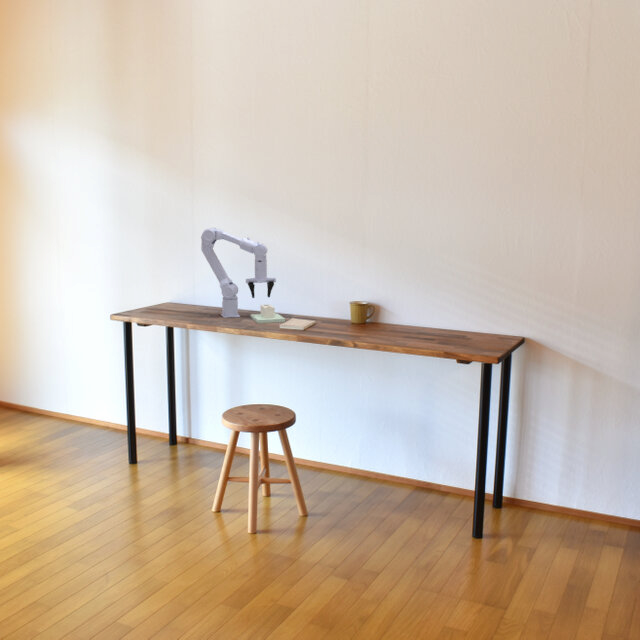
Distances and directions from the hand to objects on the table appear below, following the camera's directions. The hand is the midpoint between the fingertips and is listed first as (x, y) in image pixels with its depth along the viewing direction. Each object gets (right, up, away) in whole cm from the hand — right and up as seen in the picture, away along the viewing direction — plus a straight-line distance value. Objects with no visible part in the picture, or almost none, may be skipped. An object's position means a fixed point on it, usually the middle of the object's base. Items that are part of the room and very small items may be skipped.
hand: (261, 297), depth 380 cm
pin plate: (+4, -11, -6) cm, 13 cm away
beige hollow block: (+4, -9, -7) cm, 12 cm away
